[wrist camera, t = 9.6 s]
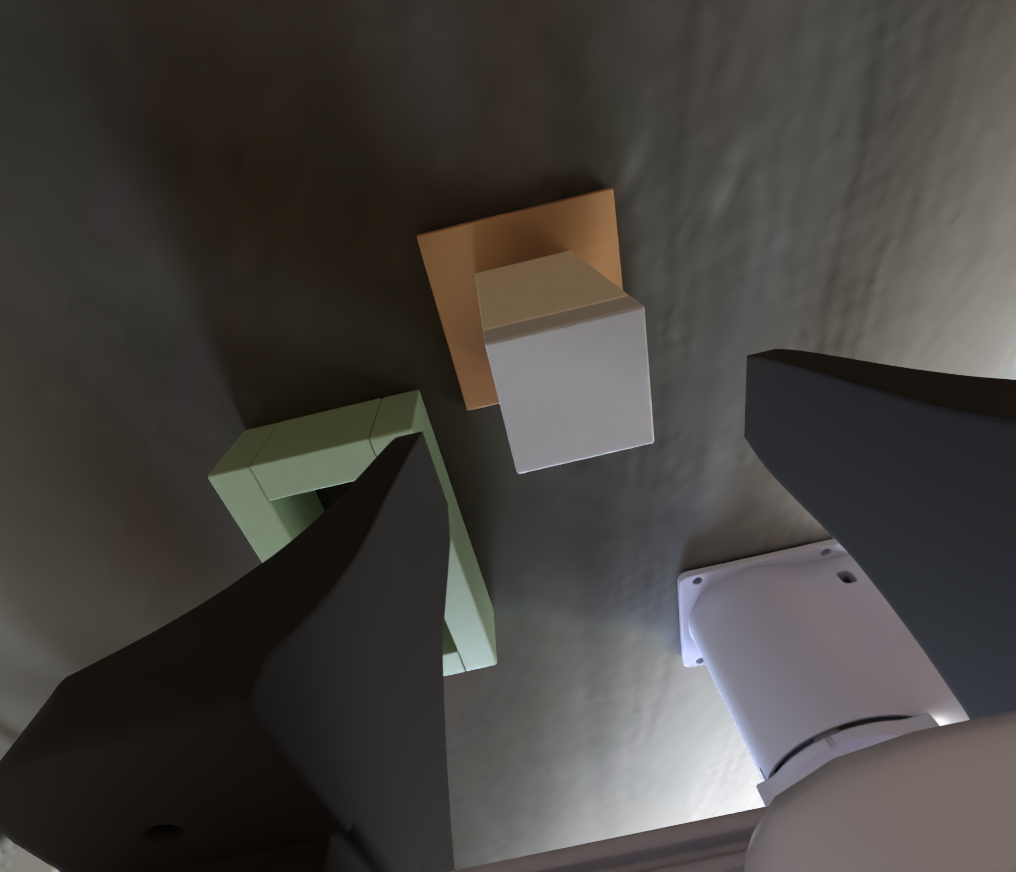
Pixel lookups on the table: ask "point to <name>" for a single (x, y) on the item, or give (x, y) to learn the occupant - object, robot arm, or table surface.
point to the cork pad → (501, 243)
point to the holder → (340, 459)
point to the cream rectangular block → (565, 360)
